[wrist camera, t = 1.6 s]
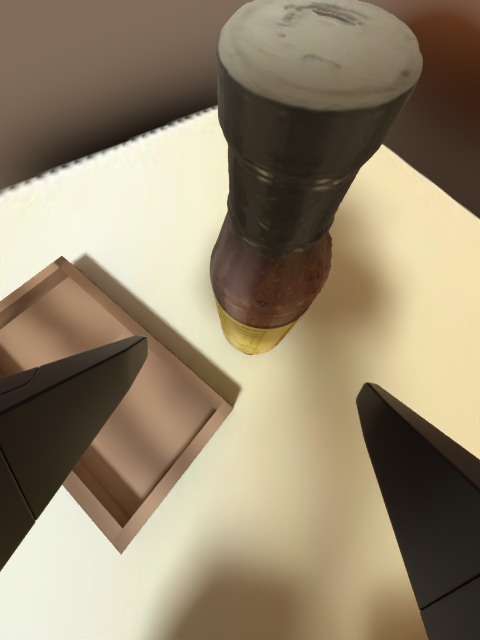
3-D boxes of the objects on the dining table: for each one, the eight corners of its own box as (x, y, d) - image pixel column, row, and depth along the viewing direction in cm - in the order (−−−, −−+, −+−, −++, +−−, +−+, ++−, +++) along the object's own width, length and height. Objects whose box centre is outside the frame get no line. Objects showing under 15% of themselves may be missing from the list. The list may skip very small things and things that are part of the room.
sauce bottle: (259, 290, 24) (351, -58, 6) (293, 336, 23) (577, 60, 4) (208, 321, 23) (111, -10, 4) (241, 372, 21) (313, 196, 3)
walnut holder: (133, 537, 17) (121, 554, 15) (-31, 348, 21) (-57, 343, 19) (233, 407, 20) (233, 408, 18) (74, 266, 25) (61, 255, 23)
